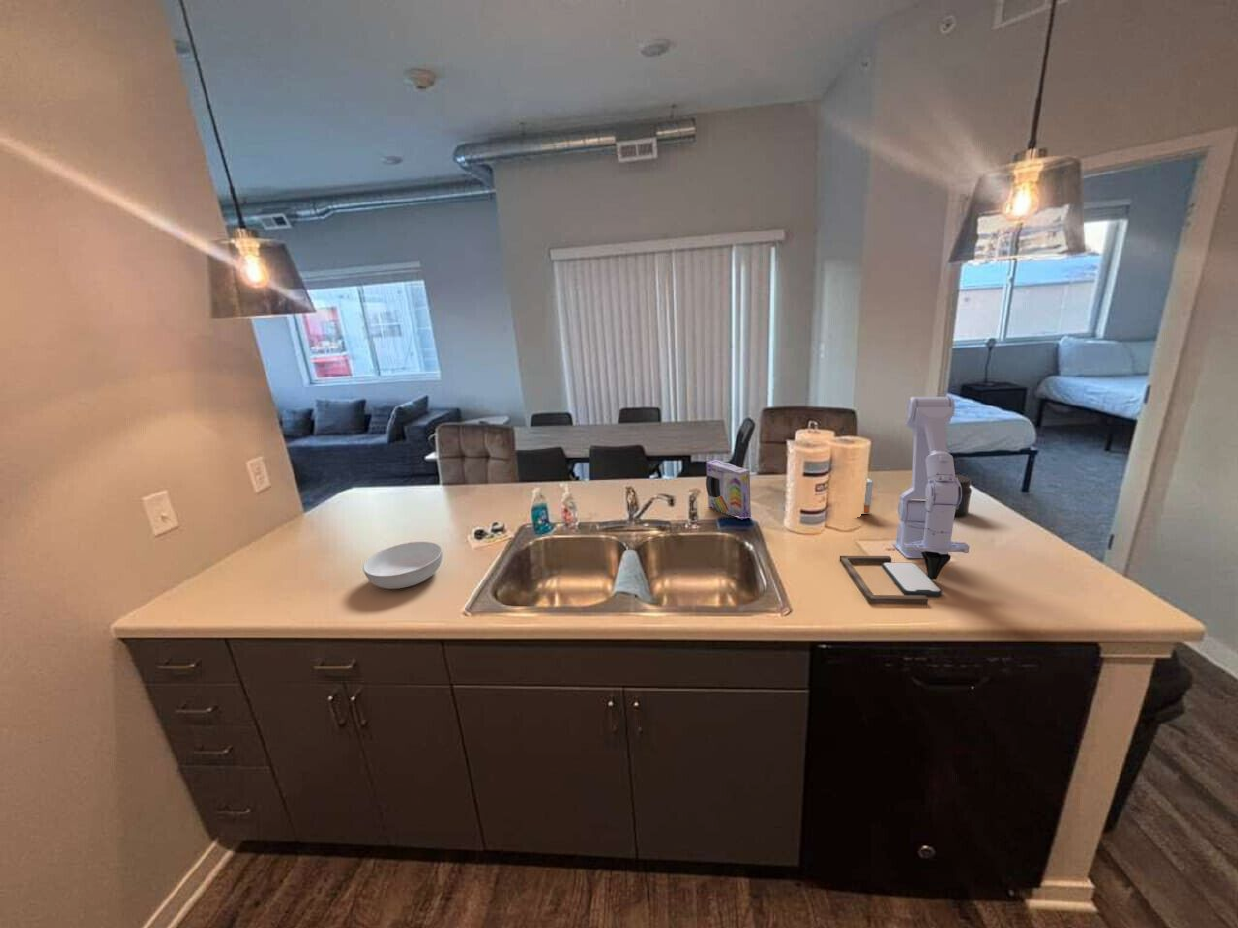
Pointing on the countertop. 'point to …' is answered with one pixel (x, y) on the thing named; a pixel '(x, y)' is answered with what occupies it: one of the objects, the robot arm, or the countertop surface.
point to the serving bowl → (403, 564)
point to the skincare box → (868, 496)
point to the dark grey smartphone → (911, 579)
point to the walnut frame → (867, 592)
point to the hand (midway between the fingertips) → (931, 577)
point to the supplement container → (963, 496)
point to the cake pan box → (728, 488)
